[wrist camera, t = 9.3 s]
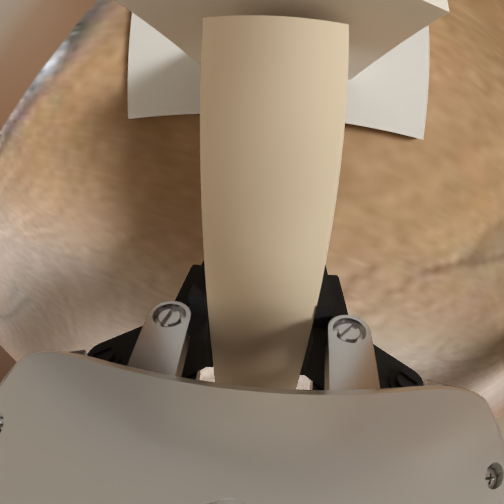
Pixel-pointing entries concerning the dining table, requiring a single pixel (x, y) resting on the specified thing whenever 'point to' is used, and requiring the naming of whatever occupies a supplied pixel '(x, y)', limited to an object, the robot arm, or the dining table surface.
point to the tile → (303, 6)
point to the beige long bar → (268, 186)
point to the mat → (358, 89)
